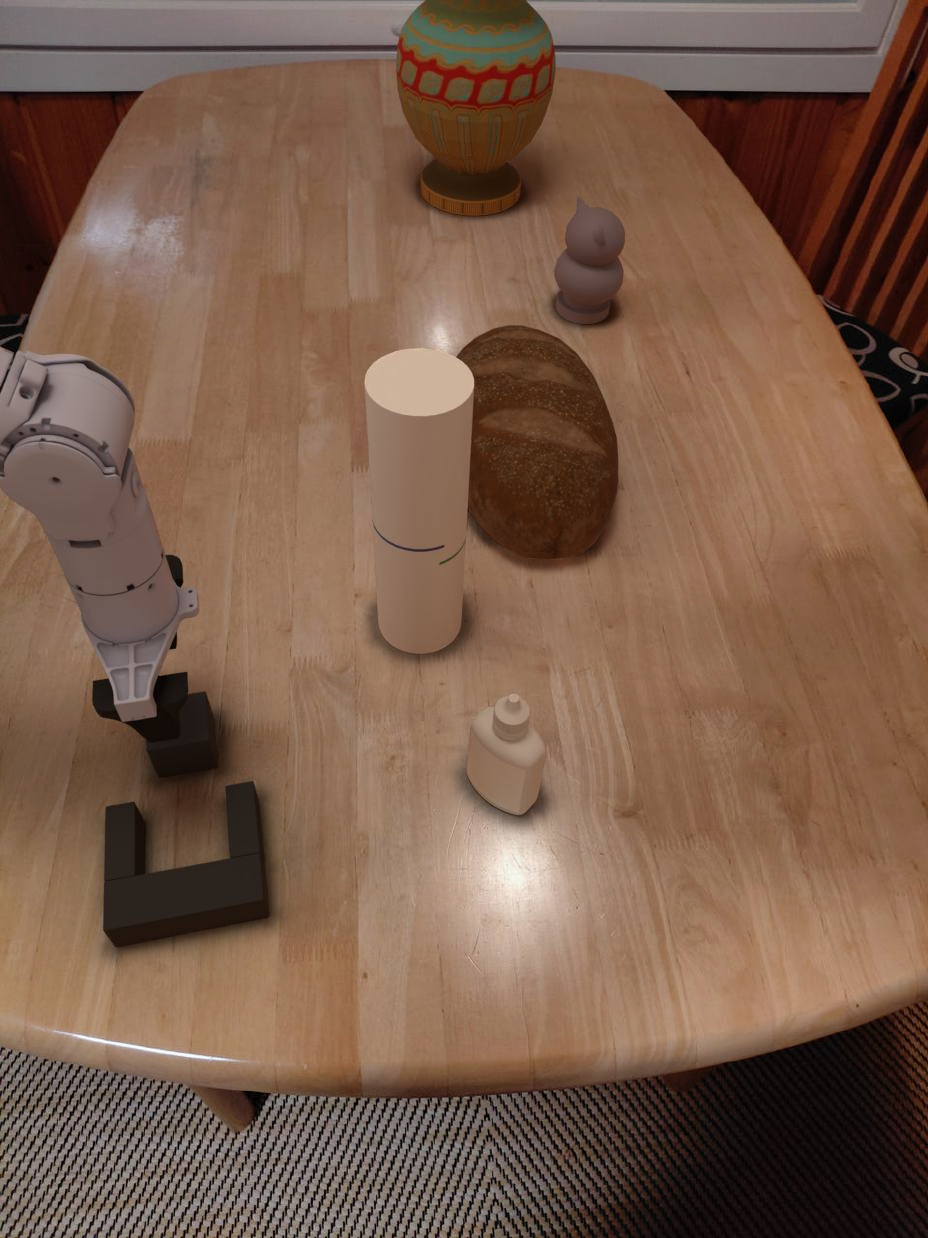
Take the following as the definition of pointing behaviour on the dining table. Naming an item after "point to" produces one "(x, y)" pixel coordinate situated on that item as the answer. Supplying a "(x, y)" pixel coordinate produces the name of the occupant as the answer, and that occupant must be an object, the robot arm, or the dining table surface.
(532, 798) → the eye dropper bottle
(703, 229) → the dining table surface
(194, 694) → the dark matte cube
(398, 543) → the cylindrical container
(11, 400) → the robot arm
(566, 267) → the grey rounded figurine
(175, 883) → the black u-shaped block
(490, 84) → the vase
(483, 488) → the bread
